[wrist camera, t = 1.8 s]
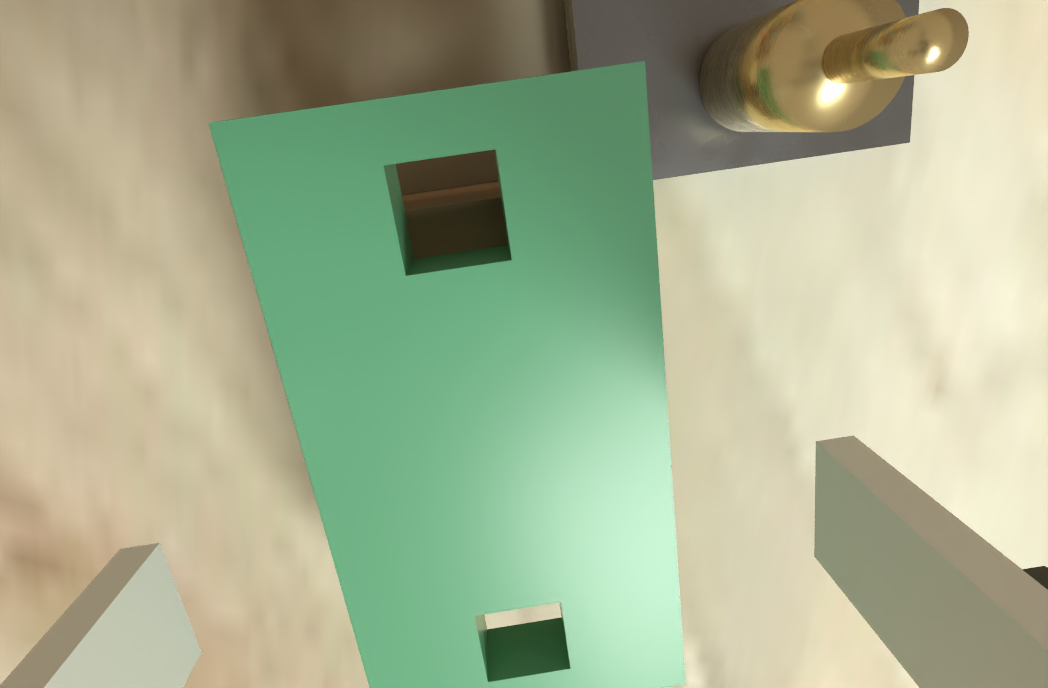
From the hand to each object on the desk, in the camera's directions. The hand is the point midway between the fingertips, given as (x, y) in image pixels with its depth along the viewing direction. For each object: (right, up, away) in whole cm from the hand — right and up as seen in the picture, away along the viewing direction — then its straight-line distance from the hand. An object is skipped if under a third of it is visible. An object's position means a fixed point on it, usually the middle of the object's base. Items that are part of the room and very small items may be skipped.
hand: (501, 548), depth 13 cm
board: (0, +2, +5) cm, 5 cm away
